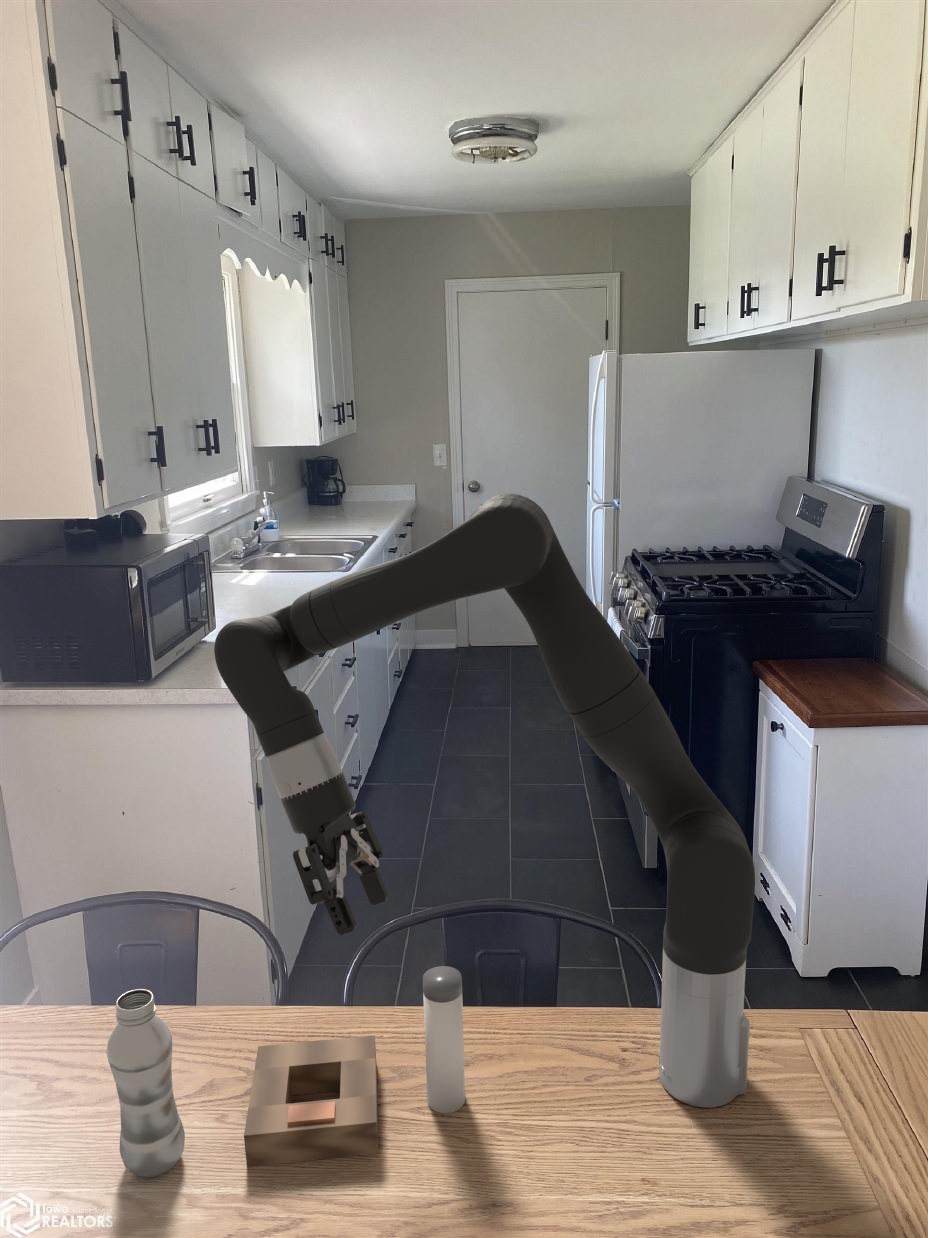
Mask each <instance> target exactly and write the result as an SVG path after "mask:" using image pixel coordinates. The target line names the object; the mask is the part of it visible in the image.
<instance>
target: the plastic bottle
mask: <svg viewBox="0 0 928 1238" xmlns="http://www.w3.org/2000/svg"><path fill="white" fill-rule="evenodd" d="M115 1008H116V1009H115V1010H116V1013H115V1019H116V1022H117V1024H116V1026H115V1027H114V1028H113V1030H112V1032H111V1034H110V1035H109V1037H108V1040H107V1046H106V1050H105V1051H106V1052H105V1053H106V1056H107V1057H106V1058H107V1061H108V1064H109V1068H110V1070H111V1073H112V1076H113V1079H114V1082H115V1086H116V1091H117V1096H118V1101H119V1107H120V1108H119V1111H120V1113H119V1114H120V1134H119V1154H120V1157H121V1159H122V1163H123V1165H124V1168H125V1169H126V1170H127V1171H128V1172H130V1173H132V1174H133V1175H134V1176H136V1177H139V1178H154V1177H158V1176H159V1175H160V1176H161V1175H163V1174H165V1173H167V1172H168V1171H170V1170H171V1169H172V1168H173V1167H174V1166H176V1164H177V1162H178V1161H179V1160H180V1158H182V1154H183V1152H184V1149H185V1140H186V1139H185V1137H186V1135H185V1134H186V1133H185V1130H184V1129H185V1128H184V1126H183V1125H184V1124H183V1122H182V1119H181V1117H180V1114H179V1112H178V1107H177V1104H176V1098H175V1094H174V1088H173V1074H172V1063H173V1034H172V1032H171V1030H170V1028H169V1026H168V1025H167V1023H166V1022H165V1021H164V1020H163V1019H161V1018H160V1017H159V1016H157V1014H156V1013H157V1006H156V1004H155V996H154V994H153V992H152V991H151V990H148V989H145V988H136V989H132V990H129V991H126V992H124V993H123V994H121V995H120V996H119V997H118V998H117V999H116V1002H115Z"/></svg>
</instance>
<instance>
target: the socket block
mask: <svg viewBox="0 0 928 1238" xmlns="http://www.w3.org/2000/svg"><path fill="white" fill-rule="evenodd" d="M376 1050H377V1049H376V1035H366V1036H356V1037H355V1036H354V1037H345V1038H332V1039H323V1040H322V1039H321V1040H313V1041H312V1040H311V1041H303V1042H302V1041H300V1042H290V1043H278V1044H270V1045H269V1044H268V1045H267V1044H266V1045H260V1046H259V1045H258V1046H257V1051H256V1058H255V1063H254V1064H255V1065H254V1070H253V1075H252V1082H251V1083H252V1084H251V1090H250V1096H249V1101H248V1107H247V1113H246V1118H245V1119H246V1121H245V1127H244V1134H243V1138H244V1140H243V1141H244V1150H245V1153H244V1154H245V1162H246V1163H245V1164H246V1168H251V1167H261V1166H271V1165H279V1164H280V1165H281V1164H290V1163H300V1162H308V1161H318V1160H320V1161H321V1160H329V1159H337V1158H347V1157H348V1158H349V1157H355V1156H356V1157H357V1156H365V1155H366V1156H369V1155H376V1154H379V1127H378V1125H379V1124H378V1123H379V1120H378V1118H379V1117H378V1076H377V1075H378V1074H377V1071H378V1070H377V1051H376ZM338 1091H339V1098H334V1099H333V1098H332V1099H324V1100H313V1101H303V1102H294V1103H292V1096H298V1095H299V1096H300V1095H310V1094H318V1093H319V1094H320V1093H329V1092H331V1093H332V1092H338Z"/></svg>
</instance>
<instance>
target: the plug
mask: <svg viewBox="0 0 928 1238" xmlns="http://www.w3.org/2000/svg"><path fill="white" fill-rule="evenodd" d="M422 998H423V1018H424V1019H423V1021H424V1024H423V1025H424V1026H423V1027H424V1046H425V1048H424V1049H425V1070H426V1071H425V1072H426V1074H425V1075H426V1096H427V1097H426V1100H427V1104H428V1107H429V1108H430V1109H432V1110H433V1111H435V1112H437V1113H439V1114H440V1113H441V1114H451V1113H454V1112H457V1111H458V1110H460V1109H461V1108H462V1107H463V1106H464V1104H465V1102H466V1088H465V1087H466V1085H465V1082H466V1081H465V1050H464V1049H465V1048H464V1045H465V1044H464V1016H463V1015H464V1013H463V1012H464V1009H463V1008H464V1007H463V1006H464V1004H463V977H462V973H461V972H460V971H459V970H458V969H457V968H455V967H452V966H446V965H440V966H435V967H431V968H430V969H428V970H426V971H425V972H424V974H423V975H422Z"/></svg>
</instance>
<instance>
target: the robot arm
mask: <svg viewBox="0 0 928 1238" xmlns="http://www.w3.org/2000/svg"><path fill="white" fill-rule="evenodd" d="M502 589H503V590H505V592H506V593H507V594H508V596H509V597H510V598H511V600H512V602H513V603H514V604H515V606H516V607H517V608H518V610H519V611H520V613H521V615H522V616H523V617H524V618H525V620H526V622H527V624H528V626H529V628H530V630H531V632H532V635H533V637H534V639H535V642H536V644H537V648H538V650H539V652H540V653H539V654H540V655H541V658H542V660H543V664H544V665H545V668H546V670H547V674H548V676H549V678H550V681H551V683H552V685H553V687H554V690H555V692H556V694H557V696H558V698H559V700H560V702H561V704H562V706H563V707H564V709H565V711H566V712H567V714H568V715H569V716H570V718H571V721H573V723H574V725H575V727H577V730H578V731H579V732H580V734H581V736H582V737H583V738H584V740H585V741H586V743H587V744H588V746H589V747H590V749H592V750H593V752H594V753H595V754H596V756H598V757H599V759H600V760H601V761H602V762H603V763H604V764H605V765H607V767H609V768H610V770H612V771H613V772H614V773H615V774H617V776H618V777H619V778H621V779H622V780H623V782H625V783H626V784H627V785H628V786H629V787H630V788H631V790H632V791H633V793H634V794H635V795H636V797H637V799H638V800H639V801H640V803H641V805H642V806H643V808H644V810H645V812H646V814H647V816H648V817H649V819H650V821H651V822H652V825H653V827H654V829H655V831H656V833H657V835H658V837H659V840H660V841H661V846H662V847H663V851H664V856H665V864H666V871H667V873H666V874H667V877H666V879H667V881H666V882H667V883H666V885H667V886H666V892H667V893H666V914H665V915H666V916H665V917H666V918H665V923H664V927H663V933H662V934H663V941H662V942H663V943H662V944H663V945H662V966H661V967H662V970H661V972H662V974H661V975H662V976H661V977H662V978H661V1002H660V1003H661V1005H660V1006H661V1007H660V1008H661V1009H660V1012H661V1013H660V1035H659V1036H660V1040H659V1041H660V1042H659V1050H660V1051H659V1062H658V1063H659V1079H660V1083H661V1085H662V1086H663V1088H664V1089H665V1090H666V1091H667V1092H668V1094H670V1095H671V1096H672V1097H673V1098H675V1099H676V1100H678V1101H680V1102H682V1103H684V1104H687V1105H689V1106H693V1107H699V1108H709V1109H710V1108H718V1107H721V1106H724V1105H727V1104H728V1103H731V1102H732V1101H733V1100H734V1099H735V1098H736V1097H737V1096H741V1095H746V1094H747V1086H748V1085H747V1083H748V1082H747V1081H748V1067H749V1066H748V1065H749V1064H748V1063H749V1050H750V1049H749V1048H750V1028H751V1027H750V1026H751V1023H750V1020H749V1019H748V1017H747V1015H746V1014H745V1012H744V1010H745V1009H744V1007H745V1005H744V1004H745V987H746V986H745V985H746V984H745V983H746V968H747V967H746V966H747V952H748V946H749V944H750V942H751V938H752V931H753V919H754V910H755V909H754V907H755V894H756V870H755V869H756V868H755V864H754V861H753V856H752V853H751V851H750V848H749V845H748V843H747V839H746V836H745V834H744V832H743V829H742V827H741V826H740V825H739V824H738V822H737V821H736V819H735V818H734V817H733V816H732V814H731V813H730V812H729V810H728V809H727V808H726V807H725V806H724V805H723V803H722V802H721V801H720V799H718V797H717V796H716V794H715V793H714V792H713V790H711V788H710V787H709V785H708V784H707V783H706V782H705V780H704V779H703V778H702V777H701V774H699V772H698V770H697V769H696V768H695V767H694V764H693V763H692V762H691V760H690V758H689V757H688V755H687V752H686V751H685V749H684V747H683V744H682V741H681V739H680V738H679V736H678V733H677V731H676V729H675V727H674V725H673V723H672V721H671V720H670V718H669V715H668V714H667V712H666V711H665V709H664V707H663V705H662V703H661V701H660V700H659V698H658V695H656V692H655V691H654V689H653V688H652V686H651V685H650V683H649V681H648V680H647V678H646V676H645V675H644V673H643V671H642V670H641V668H640V666H639V665H638V664H637V662H636V661H635V659H634V657H632V655H631V653H630V652H629V650H628V649H627V648H626V646H625V645H624V644H623V642H622V640H620V637H619V636H618V634H616V631H615V630H614V629H613V627H612V626H611V625H610V623H609V622H608V620H607V619H606V618H605V616H604V615H603V614H602V613H601V611H600V609H598V608H597V606H596V605H595V603H593V601H592V599H591V598H590V596H589V595H588V593H586V590H585V589H584V588H583V586H582V584H581V581H580V580H579V579H578V577H577V575H576V573H575V571H574V569H573V568H572V565H571V563H570V561H569V560H568V558H567V555H566V553H565V552H564V549H563V547H562V545H561V543H560V541H559V539H558V536H557V534H556V531H555V530H554V528H553V526H552V523H551V521H550V519H549V517H548V515H547V514H546V512H545V511H544V509H543V508H542V507H541V506H540V505H539V504H538V503H536V502H535V501H534V500H533V499H530V498H528V497H526V496H524V495H521V494H517V493H502V494H498V495H494V496H492V497H490V498H489V499H487V500H485V501H484V502H483V503H481V504H480V505H479V506H478V508H476V509H475V510H474V511H473V512H472V513H471V515H469V517H468V518H467V519H466V520H465V521H463V522H462V523H461V524H458V525H457V526H456V527H454V528H453V529H451V530H450V531H448V532H447V533H445V534H443V535H442V536H441V537H439V538H437V539H436V540H434V541H432V542H430V543H429V544H427V545H424V546H423V547H421V548H419V549H417V550H414V551H412V552H410V553H408V554H405V555H403V556H400V557H397V558H395V559H391V560H388V561H386V562H385V561H384V562H382V563H379V564H376V565H372V566H369V567H366V568H362V569H360V570H356V571H354V572H352V573H349V574H346V575H343V576H341V577H340V578H336V579H334V580H332V581H329V582H328V583H324V584H323V585H321V586H318V587H316V588H313V589H312V590H309V591H307V592H306V593H304V594H302V595H300V596H299V597H297V598H296V599H295V600H294V601H293V602H292V603H291V604H289V605H287V606H285V607H283V608H280V609H278V610H276V611H273V612H270V613H268V614H264V615H262V616H257V617H250V618H249V617H248V618H242V619H241V618H240V619H235V620H233V621H230V622H229V623H228V622H227V623H226V624H225V625H223V627H222V628H221V629H220V630H219V631H218V633H217V635H216V638H215V641H214V646H213V648H214V649H213V651H214V653H213V654H214V660H215V664H216V668H217V670H218V673H219V675H220V676H221V679H222V680H223V682H224V684H225V685H226V687H227V689H228V690H229V691H230V693H231V695H232V696H233V698H234V699H235V701H236V702H237V704H238V705H239V707H240V708H241V709H242V711H243V712H244V713H245V715H246V716H247V717H248V718H249V720H250V722H251V723H252V725H253V727H254V730H255V733H256V736H257V738H258V742H259V743H260V746H261V748H262V751H263V754H264V755H265V758H266V761H267V764H268V768H269V773H270V776H271V779H272V782H273V784H274V786H275V789H276V792H277V794H278V796H279V799H280V801H281V804H282V806H283V809H284V811H285V814H286V816H287V818H288V821H289V824H290V826H291V829H292V830H293V831H292V832H294V834H299V835H300V834H303V835H305V838H306V842H307V843H306V844H307V846H305V847H302V848H299V849H296V850H294V851H293V853H292V857H293V860H294V863H295V866H296V870H297V871H298V874H299V877H300V880H301V883H302V885H303V886H302V887H303V889H304V891H305V894H306V897H307V899H308V902H309V903H310V905H312V906H314V905H317V904H321V905H324V906H325V907H326V911H327V912H328V915H329V917H330V919H331V922H332V924H333V927H334V929H335V931H336V933H337V934H338V935H341V936H342V935H344V934H348V933H352V932H354V930H355V929H357V927H358V925H357V922H356V919H355V916H354V915H353V912H352V910H351V907H350V904H349V902H348V900H347V898H346V895H344V878H345V877H346V876H347V867H349V866H351V867H352V868H353V869H355V871H356V872H358V874H360V875H359V879H360V882H361V884H362V886H363V889H364V892H365V893H366V896H367V898H368V901H369V903H370V904H371V905H373V906H375V905H378V904H381V903H384V902H386V901H387V899H388V898H389V895H388V894H389V893H388V892H387V889H386V887H385V884H384V882H383V880H382V877H381V874H380V872H379V869H378V868H379V867H380V861H379V859H381V858H383V857H384V852H383V848H382V847H381V845H380V842H379V840H378V838H377V835H376V834H375V831H374V828H373V827H372V824H371V822H370V819H369V817H368V816H367V813H366V812H365V811H364V810H363V811H359V812H356V813H353V814H350V813H352V812H353V811H354V810H355V809H356V806H357V804H356V801H355V799H354V797H353V794H352V791H351V788H350V786H349V784H348V781H347V780H346V777H345V774H344V771H343V769H342V767H341V765H340V762H339V760H338V757H337V755H336V753H335V750H334V749H333V746H332V745H331V743H330V741H329V740H328V737H327V736H326V734H325V733H324V732H325V731H324V729H323V726H322V723H321V721H320V718H319V717H318V714H317V712H316V709H315V707H314V705H313V702H312V700H311V699H310V698H309V696H308V694H307V693H305V691H302V690H299V689H296V688H294V687H293V685H292V684H291V683H290V681H289V680H288V678H287V676H286V674H285V672H286V671H288V670H290V669H293V668H295V667H297V666H298V665H301V664H302V663H305V662H306V661H308V660H310V659H313V658H314V657H316V656H317V655H319V654H322V653H326V652H330V651H332V650H335V649H337V648H340V647H343V646H345V645H347V644H349V643H352V642H354V641H356V640H358V639H362V638H363V637H366V636H369V635H370V634H372V633H375V632H377V631H379V630H382V629H384V628H386V627H388V626H391V625H393V624H395V623H397V622H400V621H402V620H405V619H406V618H408V617H411V616H413V615H415V614H419V613H421V612H423V611H426V610H429V609H431V608H435V607H437V606H441V605H443V604H446V603H447V604H448V603H449V602H453V601H456V600H460V599H464V598H468V597H471V596H477V595H480V594H485V593H490V592H493V591H497V590H499V591H500V590H502ZM368 843H369V844H370V845H369V844H368ZM314 881H315V882H316V883H317V885H318V886H317V887H318V890H317V889H316V886H315V884H314ZM331 882H332V884H331ZM332 885H333V886H332Z"/></svg>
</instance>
